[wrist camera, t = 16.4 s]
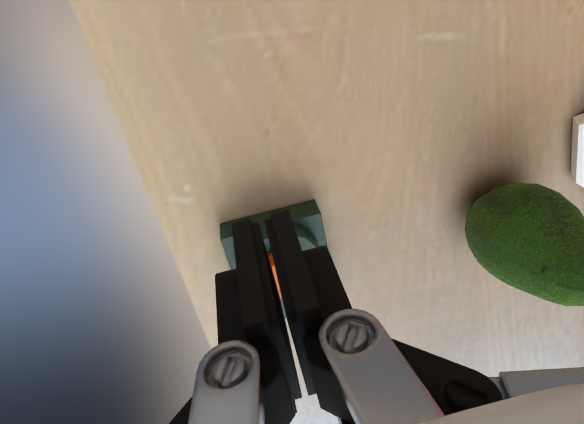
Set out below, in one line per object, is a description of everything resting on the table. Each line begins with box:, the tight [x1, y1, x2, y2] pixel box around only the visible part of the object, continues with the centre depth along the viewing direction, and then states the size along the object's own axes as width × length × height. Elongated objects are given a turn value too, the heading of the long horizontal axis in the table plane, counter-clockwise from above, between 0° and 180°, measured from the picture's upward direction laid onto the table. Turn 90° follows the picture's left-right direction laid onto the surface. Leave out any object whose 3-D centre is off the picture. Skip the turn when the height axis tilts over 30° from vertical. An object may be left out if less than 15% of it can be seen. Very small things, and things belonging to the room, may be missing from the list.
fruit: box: [465, 183, 584, 306], centre depth 34 cm, size 8×8×12 cm
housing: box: [220, 200, 327, 318], centre depth 37 cm, size 10×8×4 cm
